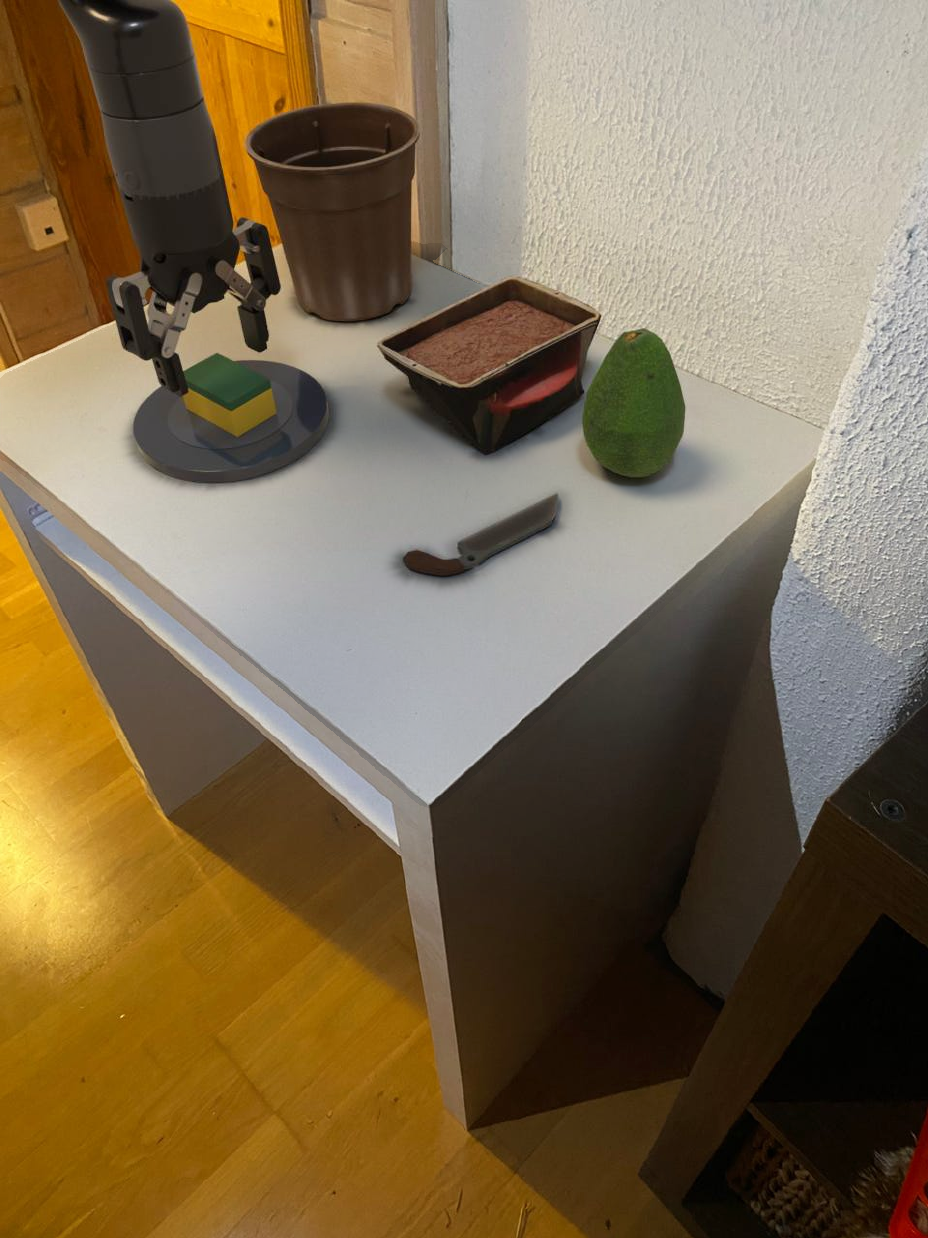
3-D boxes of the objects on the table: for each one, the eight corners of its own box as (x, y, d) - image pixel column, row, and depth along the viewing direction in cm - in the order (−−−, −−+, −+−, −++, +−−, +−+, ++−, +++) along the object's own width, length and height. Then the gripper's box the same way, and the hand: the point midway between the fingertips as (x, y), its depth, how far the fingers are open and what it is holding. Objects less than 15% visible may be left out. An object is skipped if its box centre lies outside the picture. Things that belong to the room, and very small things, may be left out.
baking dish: (378, 411, 86) (356, 324, 78) (525, 322, 91) (519, 230, 83) (473, 496, 79) (459, 410, 71) (627, 394, 84) (631, 302, 76)
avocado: (635, 428, 80) (652, 298, 71) (695, 476, 75) (720, 343, 66) (559, 459, 77) (566, 328, 68) (616, 511, 72) (631, 377, 64)
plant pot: (288, 346, 91) (256, 177, 79) (265, 272, 102) (234, 114, 90) (447, 318, 94) (439, 151, 82) (409, 249, 104) (397, 92, 92)
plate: (220, 510, 74) (216, 497, 73) (97, 432, 82) (93, 420, 81) (368, 412, 83) (366, 400, 82) (244, 351, 90) (241, 339, 90)
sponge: (237, 437, 79) (228, 402, 76) (186, 408, 82) (176, 374, 79) (277, 413, 81) (269, 378, 78) (225, 386, 84) (216, 351, 82)
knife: (429, 591, 67) (429, 584, 66) (400, 560, 69) (399, 553, 69) (578, 514, 72) (579, 508, 72) (547, 488, 74) (547, 482, 74)
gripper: (213, 130, 72) (253, 322, 84) (53, 190, 64) (121, 391, 76) (278, 151, 68) (310, 349, 80) (116, 217, 61) (178, 424, 73)
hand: (218, 369), depth 78 cm, fingers open, 8 cm apart
